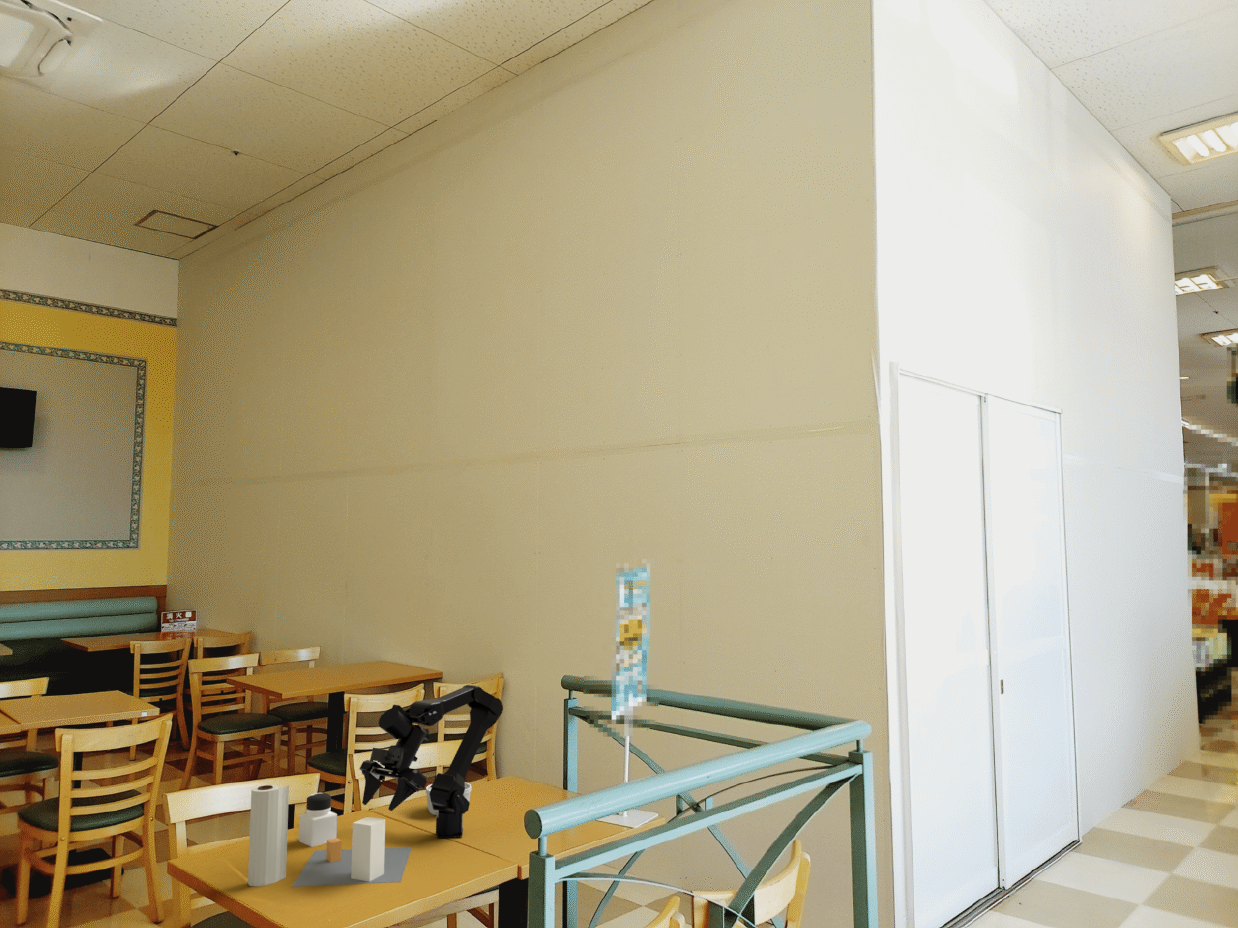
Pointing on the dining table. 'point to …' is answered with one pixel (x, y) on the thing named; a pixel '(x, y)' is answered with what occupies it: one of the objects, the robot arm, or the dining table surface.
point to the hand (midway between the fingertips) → (376, 807)
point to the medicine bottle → (317, 821)
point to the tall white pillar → (368, 848)
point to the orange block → (333, 850)
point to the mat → (350, 868)
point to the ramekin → (430, 807)
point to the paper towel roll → (268, 834)
